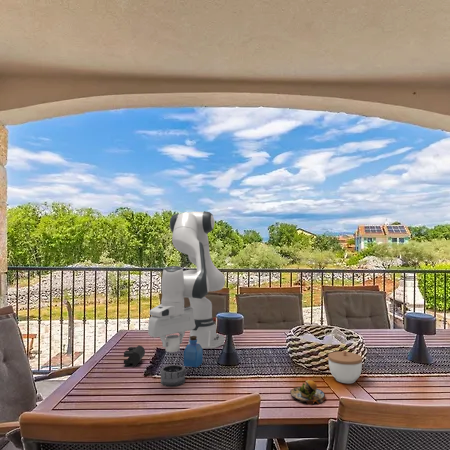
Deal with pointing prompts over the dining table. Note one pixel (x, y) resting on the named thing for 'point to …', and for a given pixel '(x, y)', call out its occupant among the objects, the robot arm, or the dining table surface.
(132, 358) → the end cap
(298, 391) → the burger
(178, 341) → the cap
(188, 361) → the perfume bottle
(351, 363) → the lidded bowl
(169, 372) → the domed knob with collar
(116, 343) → the dining table surface
